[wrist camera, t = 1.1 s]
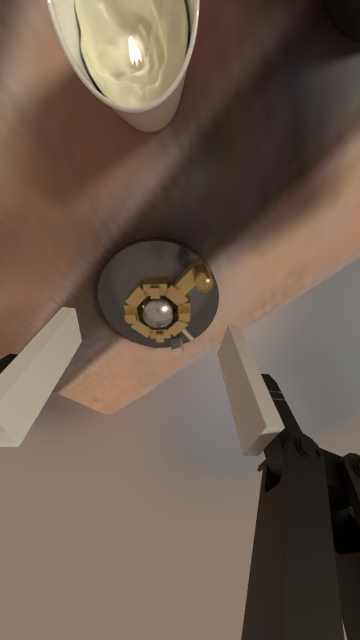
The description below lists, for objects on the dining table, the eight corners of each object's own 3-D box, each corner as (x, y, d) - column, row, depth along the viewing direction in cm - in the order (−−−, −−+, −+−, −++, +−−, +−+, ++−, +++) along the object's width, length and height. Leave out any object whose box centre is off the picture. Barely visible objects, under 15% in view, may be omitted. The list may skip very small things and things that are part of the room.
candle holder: (107, 135, 24) (61, 101, 15) (95, -2, 19) (8, -207, 9) (183, 146, 25) (189, 120, 15) (194, 17, 19) (213, -154, 10)
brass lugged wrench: (162, 337, 40) (160, 363, 34) (117, 306, 35) (105, 330, 29) (225, 282, 33) (236, 303, 27) (179, 235, 28) (180, 248, 22)
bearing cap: (151, 205, 29) (145, 209, 23) (238, 293, 38) (250, 313, 32) (81, 299, 38) (65, 319, 32) (165, 352, 47) (164, 375, 41)
